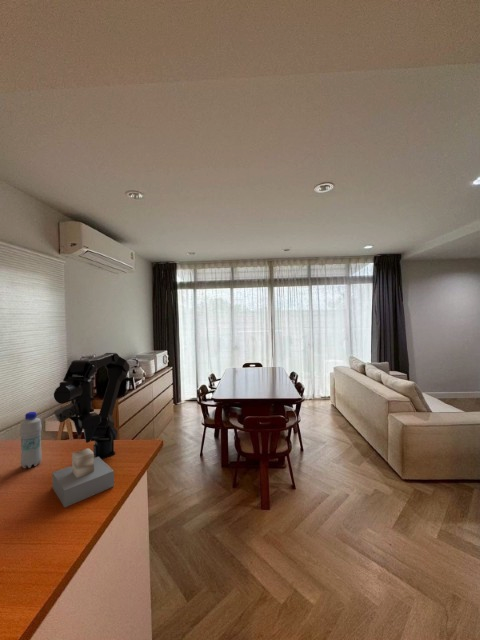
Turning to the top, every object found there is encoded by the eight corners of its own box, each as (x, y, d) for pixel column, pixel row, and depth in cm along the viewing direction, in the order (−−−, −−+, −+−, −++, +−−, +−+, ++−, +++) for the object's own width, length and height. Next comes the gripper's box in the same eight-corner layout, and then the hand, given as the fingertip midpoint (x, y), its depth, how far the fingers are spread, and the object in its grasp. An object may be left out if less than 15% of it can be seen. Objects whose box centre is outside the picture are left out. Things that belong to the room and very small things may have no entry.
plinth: (98, 470, 99) (98, 456, 99) (114, 486, 89) (113, 470, 89) (52, 487, 89) (52, 472, 89) (64, 507, 79) (64, 490, 79)
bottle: (46, 462, 105) (45, 410, 105) (28, 471, 99) (27, 415, 99) (34, 459, 108) (33, 408, 108) (15, 468, 101) (15, 414, 101)
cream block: (88, 465, 93) (88, 448, 93) (94, 471, 89) (93, 452, 89) (72, 471, 89) (71, 453, 89) (76, 477, 85) (76, 458, 86)
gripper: (49, 395, 99) (50, 438, 99) (64, 405, 86) (65, 455, 86) (83, 389, 107) (84, 429, 107) (101, 398, 94) (102, 443, 94)
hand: (83, 438), depth 98 cm, fingers open, 9 cm apart
